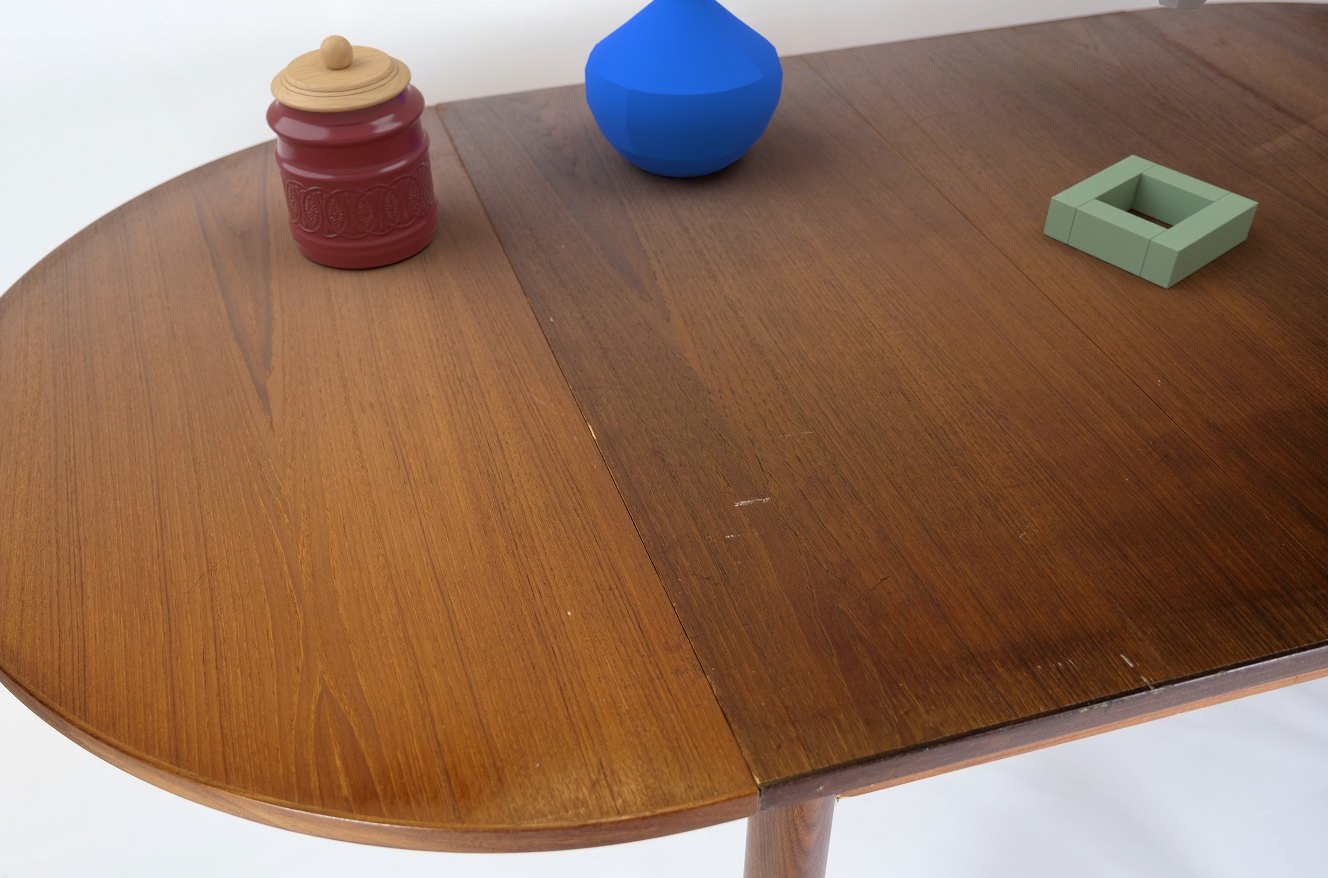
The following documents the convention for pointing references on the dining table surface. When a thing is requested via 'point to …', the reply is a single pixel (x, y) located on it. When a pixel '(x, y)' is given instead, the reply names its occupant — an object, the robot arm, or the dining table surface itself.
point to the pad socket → (1140, 246)
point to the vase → (683, 87)
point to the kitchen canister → (353, 156)
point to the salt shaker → (1182, 3)
